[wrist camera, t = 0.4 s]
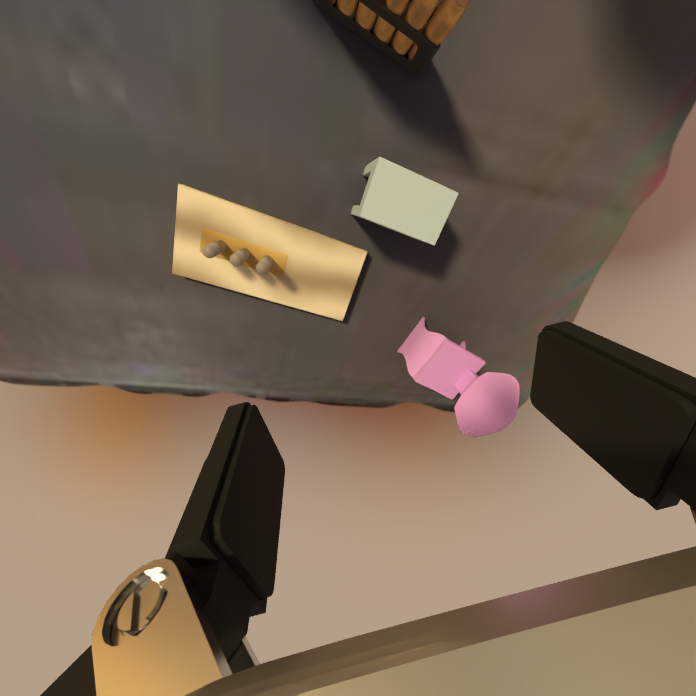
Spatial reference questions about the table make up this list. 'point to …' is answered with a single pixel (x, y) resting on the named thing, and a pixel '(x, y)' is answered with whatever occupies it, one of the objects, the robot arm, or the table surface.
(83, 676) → the robot arm
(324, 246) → the board
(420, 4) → the ammunition clip
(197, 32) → the table surface
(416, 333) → the toy chair
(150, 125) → the table surface
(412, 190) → the pale green notched block
